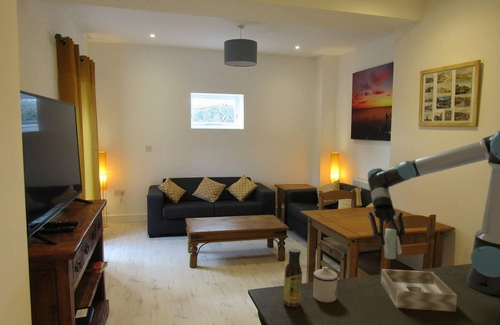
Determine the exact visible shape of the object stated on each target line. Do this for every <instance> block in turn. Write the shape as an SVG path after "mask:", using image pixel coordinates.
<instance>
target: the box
mask: <svg viewBox="0 0 500 325" xmlns="http://www.w3.org/2000/svg"><path fill="white" fill-rule="evenodd" d="M380 276H381V277H380V280H381V281H380V283H381V285H382V287H383V289H384V290H385V292H386V293H387V295H388V296H389V298H390V300H391V301H392V303H393V304H394V306H395V307H396V308H397V309H409V310H410V309H411V310H412V309H413V310H425V311H427V310H428V311H441V312H442V311H443V312H457V299H458V294H457V293H456V292H454V291H453V289H451V288H450V287H449V285H447V284H446V283H445V282H444V281H443V280H442V279H441V278H440V277H439V276H438V275H436V274H435V272H434V271H421V270H406V269H405V270H404V269H387V268H386V269H385V268H382V269H381V275H380Z"/></svg>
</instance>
